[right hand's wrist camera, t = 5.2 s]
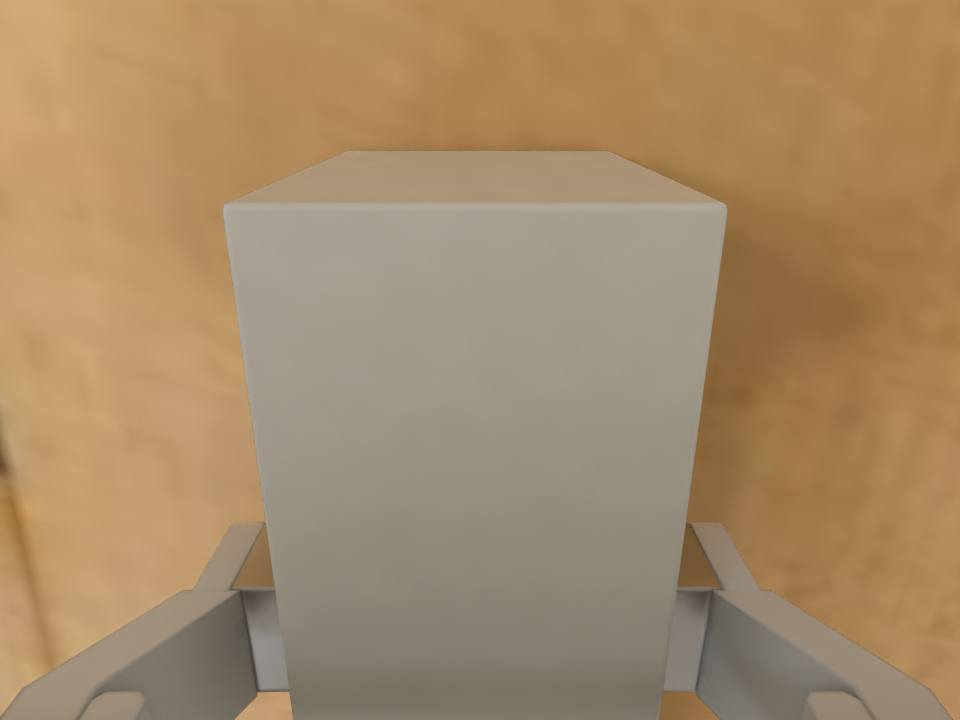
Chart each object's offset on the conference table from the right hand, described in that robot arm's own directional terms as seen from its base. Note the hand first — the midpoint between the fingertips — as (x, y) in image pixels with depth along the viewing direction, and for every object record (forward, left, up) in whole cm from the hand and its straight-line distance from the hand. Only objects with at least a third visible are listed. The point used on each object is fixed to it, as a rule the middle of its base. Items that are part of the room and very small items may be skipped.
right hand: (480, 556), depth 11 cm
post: (+19, -9, -3) cm, 21 cm away
